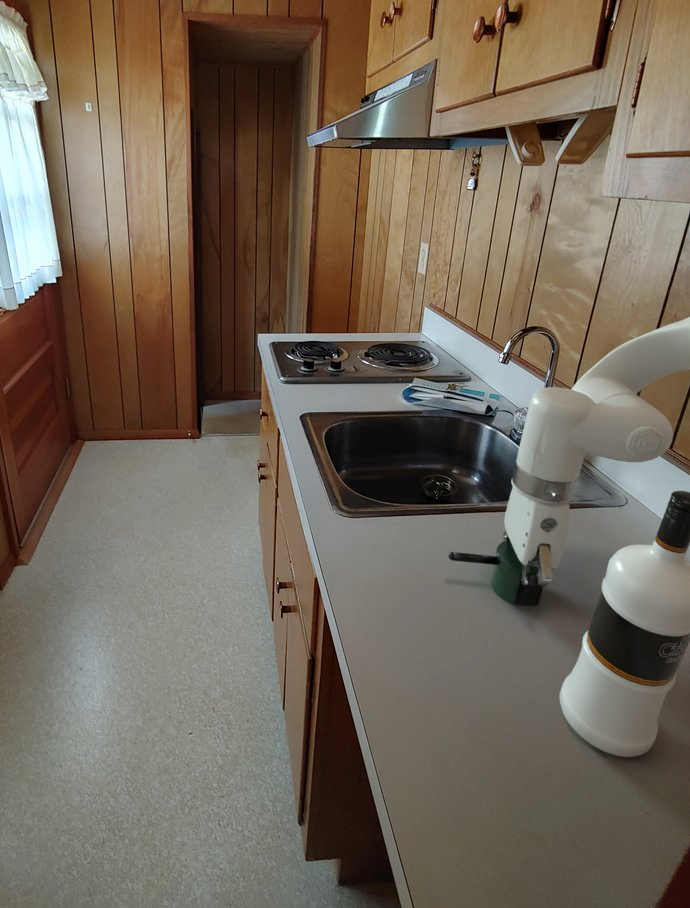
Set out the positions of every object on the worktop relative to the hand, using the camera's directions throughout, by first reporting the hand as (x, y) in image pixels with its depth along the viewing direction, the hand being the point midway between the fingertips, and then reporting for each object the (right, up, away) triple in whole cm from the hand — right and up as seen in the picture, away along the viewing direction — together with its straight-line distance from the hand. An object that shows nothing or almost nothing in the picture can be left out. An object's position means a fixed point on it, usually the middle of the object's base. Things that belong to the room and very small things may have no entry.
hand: (516, 582), depth 80 cm
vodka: (+1, -9, -18) cm, 20 cm away
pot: (-3, -1, +1) cm, 4 cm away
